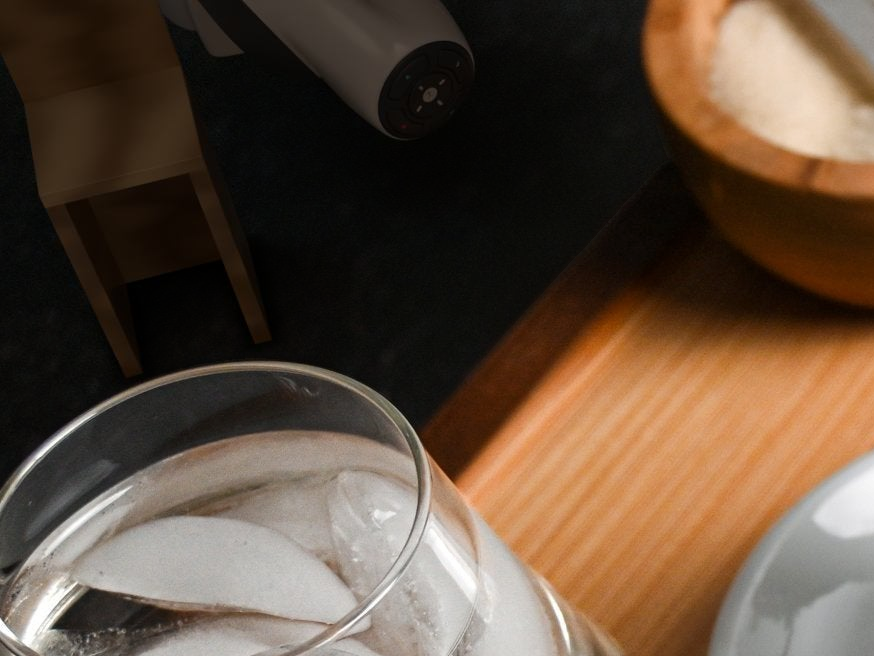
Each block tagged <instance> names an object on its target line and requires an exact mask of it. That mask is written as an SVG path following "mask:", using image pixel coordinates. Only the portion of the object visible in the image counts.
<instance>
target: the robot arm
mask: <svg viewBox="0 0 874 656" xmlns="http://www.w3.org/2000/svg"><path fill="white" fill-rule="evenodd" d="M158 3H159V5H160V8H161V11H162V13H163V16H164V17H166V18H167V19H168V20H169V22H171V23H173V24H174V25H176V26H178V27H180V28H182V29H184V30H188V31H191V32H196V33H197V35H198V37H199V39H200V41H201V42H202V43H201V44H202V45H203V47H204V48H205V50H206V52H207V53H208V54H210V55H211V56H213V57H215V58H224V57H225V58H226V57H231V56H236V55H241V54H246V55H247V57H249V58H250V59H251V60H253V61H254V62H255V63H256V64H259V65H260V66H261V67H263V68H264V69H266V70H268V71H270V72H271V73H274V74H276V75H277V76H280V77H281V76H282V77H285V78H291V79H297V80H304V81H320V80H321V79H322V80H323V81H324V82H325V84H327V85H328V86H329V88H330V89H331V90H332V91H333V92H334V93H335V94H336V96H338V97H339V98H340V99H341V100H342V101H343V102H344V103H345V104H346V105H347V106H348V107H349V108H350V109H352V110H353V111H354V112H355V113H356V114H357V115H358V116H359V117H361V118H362V119H363V120H364V121H366V122H367V123H368V124H369V125H370V126H372V127H374V128H375V129H376V130H377V131H379V132H381V133H382V134H384V135H386V136H387V137H389V138H391V139H394V140H399V141H412V140H417V139H420V138H424V137H427V136H429V135H431V134H433V133H435V132H436V131H437V130H439V129H440V128H441V127H443V126H444V125H445V124H446V123H447V122H448V121H449V120H450V119H451V118H452V117H453V116H454V115H455V113H456V112H457V111H458V110H459V108H460V107H461V106H462V104H464V102H465V100H466V99H467V97H468V95H469V94H470V92H471V89H472V86H473V83H474V77H475V69H476V68H475V59H474V55H473V52H472V49H471V47H470V44H469V43H468V41H467V39H466V37H465V35H464V33H463V31H462V30H461V28H460V27H459V25H458V24H457V22H456V20H455V18H454V17H453V16H452V14H451V13H450V12H449V10H448V9H447V7H446V6H445V5H444V3H443V2H442V1H441V0H158Z"/></svg>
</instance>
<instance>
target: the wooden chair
mask: <svg viewBox="0 0 874 656" xmlns="http://www.w3.org/2000/svg"><path fill="white" fill-rule="evenodd" d="M0 55H1V57H2V59H3V61H4V63H5V66H6V68H7V71H8V73H9V74H10V76H11V79H12V81H13V83H14V85H15V87H16V89H17V92H18V94H19V96H20V98H21V100H22V102H23V106H24V112H25V119H26V124H27V125H26V126H27V131H28V135H29V142H30V143H29V144H30V149H31V154H32V155H31V156H32V160H33V167H34V173H35V179H36V186H37V193H38V196H39V199H40V201H41V203H42V205H43V207H44V209H45V211H46V213H47V216H48V217H49V219H50V222H51V224H52V226H53V228H54V230H55V232H56V234H57V237H58V238H59V241H60V243H61V245H62V247H63V249H64V251H65V253H66V256H67V257H68V260H69V262H70V264H71V266H72V269H73V270H74V272H75V274H76V277H77V279H78V280H79V282H80V285H81V287H82V289H83V292H84V293H85V295H86V297H87V299H88V302H89V303H90V306H91V307H92V310H93V312H94V314H95V317H96V318H97V320H98V323H99V325H100V327H101V329H102V332H103V333H104V335H105V337H106V339H107V341H108V344H109V346H110V348H111V350H112V352H113V354H114V356H115V359H116V360H117V363H118V364H119V366H120V369H121V371H122V373H123V375H124V377H125V378H131V377H134V376H138V375H142V374H144V370H143V365H142V359H141V355H140V354H141V353H140V348H139V344H138V339H137V333H136V328H135V323H134V317H133V313H132V309H131V302H130V298H129V293H128V287H127V284H129V283H133V282H136V281H137V282H138V281H141V280H144V279H145V280H146V279H149V278H152V277H153V278H154V277H156V276H160V275H164V274H168V273H172V272H176V271H180V270H185V269H189V268H192V267H196V266H201V265H203V264H208V263H212V262H216V261H222V264H223V267H224V269H225V272H226V274H227V277H228V280H229V282H230V285H231V288H232V289H233V292H234V294H235V298H236V301H237V303H238V305H239V308H240V310H241V313H242V315H243V318H244V320H245V323H246V325H247V329H248V330H249V334H250V336H251V338H252V341H253V343H254V345H258V344H261V343H266V342H269V341H272V340H273V338H272V334H271V329H270V326H269V322H268V321H269V320H268V317H267V314H266V313H267V312H266V309H265V306H264V301H263V297H262V293H261V289H260V285H259V281H258V277H257V274H256V270H255V266H254V261H253V258H252V253H251V249H250V246H249V245H250V244H249V242H248V240H247V237H246V235H245V232H244V231H245V230H244V229H243V226H242V224H241V221H240V218H239V215H238V213H237V210H236V207H235V203H234V202H233V199H232V196H231V194H230V190H229V188H228V186H227V184H226V181H225V178H224V175H223V172H222V169H221V166H220V163H219V161H218V158H217V156H216V153H215V150H214V148H213V146H212V143H211V140H210V138H209V135H208V132H207V129H206V126H205V123H204V121H203V119H202V116H201V113H200V110H199V108H198V104H197V101H196V100H195V97H194V94H193V92H192V89H191V87H190V84H189V81H188V78H187V76H186V73H185V71H184V67H183V64H182V62H181V59H180V56H179V54H178V51H177V49H176V45H175V43H174V41H173V38H172V35H171V32H170V30H169V27H168V24H167V22H166V19H165V16H164V15H163V13H162V11H161V8H160V5H159V3H158V0H0Z"/></svg>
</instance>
